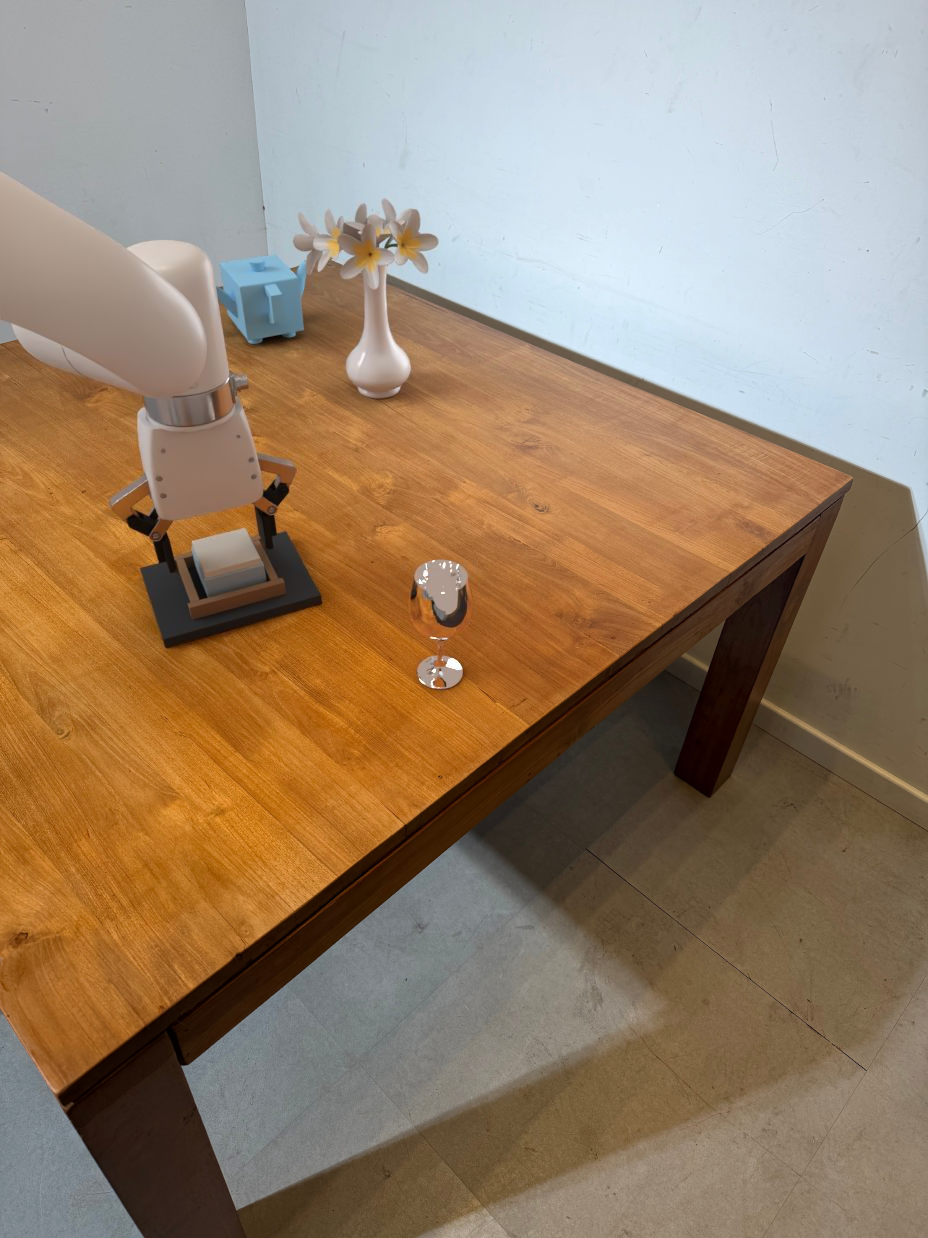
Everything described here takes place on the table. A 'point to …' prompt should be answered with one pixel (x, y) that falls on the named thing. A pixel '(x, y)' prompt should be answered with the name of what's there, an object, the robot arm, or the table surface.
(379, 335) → the flower vase
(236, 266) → the teapot
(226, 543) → the upper pad
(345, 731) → the table surface
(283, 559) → the base pad
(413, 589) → the wineglass
